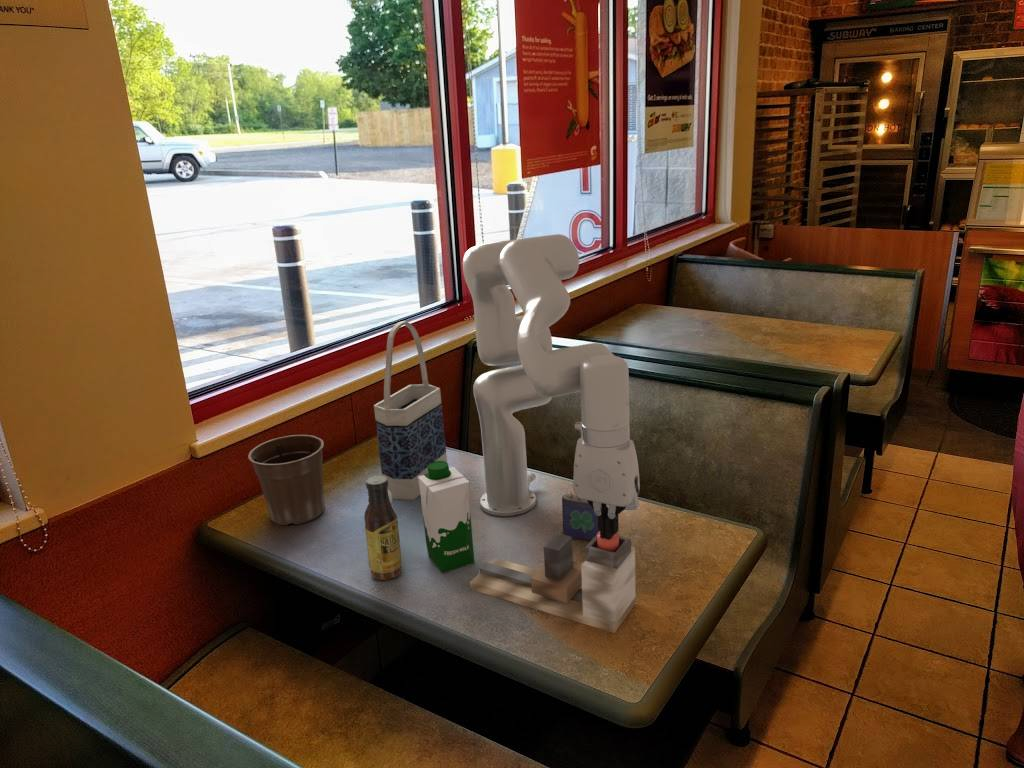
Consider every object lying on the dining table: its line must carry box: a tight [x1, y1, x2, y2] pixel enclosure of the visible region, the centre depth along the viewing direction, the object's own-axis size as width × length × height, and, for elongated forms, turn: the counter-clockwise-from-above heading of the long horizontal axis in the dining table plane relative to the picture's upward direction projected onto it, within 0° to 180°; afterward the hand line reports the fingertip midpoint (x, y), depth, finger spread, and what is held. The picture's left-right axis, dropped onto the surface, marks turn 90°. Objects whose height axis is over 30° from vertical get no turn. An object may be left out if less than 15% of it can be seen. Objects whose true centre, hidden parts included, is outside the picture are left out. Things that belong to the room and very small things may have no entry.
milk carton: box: [418, 461, 475, 575], centre depth 148 cm, size 9×9×20 cm
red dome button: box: [597, 531, 620, 552], centre depth 128 cm, size 4×4×3 cm
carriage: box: [531, 532, 583, 603], centre depth 135 cm, size 7×8×9 cm
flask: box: [561, 492, 600, 543], centre depth 155 cm, size 9×3×11 cm, turn 68°
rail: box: [469, 535, 636, 634], centre depth 136 cm, size 29×9×14 cm, turn 59°
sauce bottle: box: [363, 475, 403, 581], centre depth 146 cm, size 7×6×20 cm
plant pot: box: [248, 434, 326, 526], centre depth 172 cm, size 16×16×16 cm
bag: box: [373, 320, 448, 500], centre depth 179 cm, size 18×9×40 cm, turn 153°
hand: (608, 534), depth 127 cm, fingers closed
